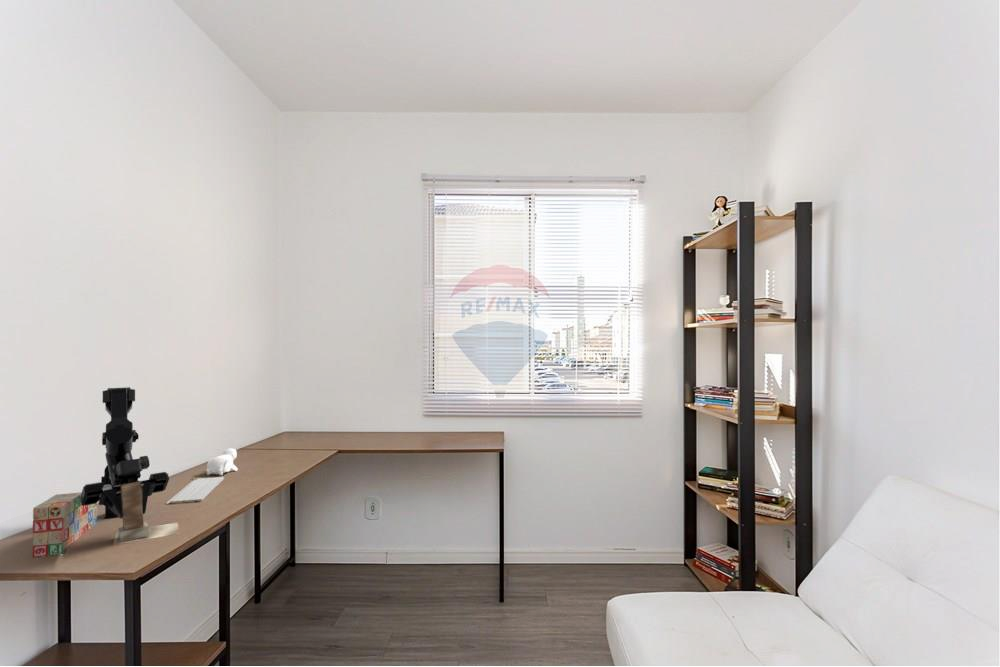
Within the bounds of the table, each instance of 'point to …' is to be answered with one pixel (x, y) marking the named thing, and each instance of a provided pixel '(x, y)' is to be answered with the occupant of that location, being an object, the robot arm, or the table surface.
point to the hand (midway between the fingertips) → (133, 515)
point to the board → (154, 532)
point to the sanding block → (132, 513)
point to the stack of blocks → (60, 523)
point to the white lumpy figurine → (222, 462)
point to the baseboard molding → (196, 490)
